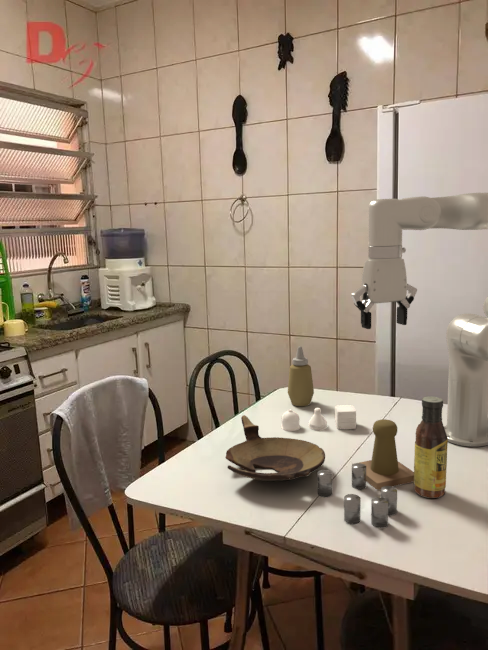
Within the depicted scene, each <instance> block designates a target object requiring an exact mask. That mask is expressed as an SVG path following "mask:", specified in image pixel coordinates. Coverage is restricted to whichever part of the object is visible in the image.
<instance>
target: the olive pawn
mask: <svg viewBox="0 0 488 650" xmlns="http://www.w3.org/2000/svg"><path fill="white" fill-rule="evenodd" d="M372 433H373V435H374V441H373V449H372V455H371V460H372V461H371V470H372V471H373V472H375V473H377V474H380V475H393V474H396V473H397V472H398V471H399V467H398V462H399V460H398V452H397V444H396V443H397V442H396V436H397V434H398V425H397V423H396V422H395V421H393V420H391V419H386V418H385V419H382V418H381V419H378V420H376V421H374V422H373V425H372Z"/></svg>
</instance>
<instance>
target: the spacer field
mask: <svg viewBox="0 0 488 650" xmlns="http://www.w3.org/2000/svg"><path fill="white" fill-rule="evenodd" d="M352 464H353V465H352ZM352 464H351V488H353V489H356V490H364V489H367V482H366V465H365V464H362V463H359V462H355V464H354V463H352ZM317 495H318V496H320V497H323V498H328V497H332V495H333V472H332V471H331V470H328V469H321V470H318V471H317ZM361 499H362V498H361V496H359V495H358V494H355V493H348V494H346V495H344V497H343V500H344V501H343V502H344V503H343V506H344V507H343V515H344V517H343V519H344V522H345V523H346V524H349V525H358V524H360V523H361V509H362V508H361V504H362V503H361ZM370 507H371V510H370V511H371V512H370V513H371V515H370V516H371V518H370V519H371V520H370V522H371V526H373V527H374V528H377V529H383V528H387V527H388V525H389V516H395V515H397V514H398V488H397V487H396V486H393V487H392V486H384V487H382V488H381V489H380V496H379V497H377V496H376V497H373V498H371V506H370Z"/></svg>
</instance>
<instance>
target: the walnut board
mask: <svg viewBox="0 0 488 650" xmlns="http://www.w3.org/2000/svg"><path fill="white" fill-rule="evenodd" d="M371 461H372V459H370V460H364V461H360V462H358V463H362V464H365V465H366V483H367V484H368V485H370V486H371V487H372V488H373V489H375V490H376V491H381V488H382V487H384V486H392V487H396V486H397V487H398V486H401V485H406V484H410V483H414V470H411V469H410V468H408V467H407V466H406V465H404V464H403V463H401V462H400V461H398V467H399V471H398V472H397V473H396V474H393V475H380V474H377V473H375V472H373V471H372V470H371ZM355 463H356V462H355ZM355 463H352V464H351V466H352V465H353V464H355Z"/></svg>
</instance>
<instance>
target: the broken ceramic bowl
mask: <svg viewBox="0 0 488 650" xmlns="http://www.w3.org/2000/svg"><path fill="white" fill-rule="evenodd" d="M241 424H242V427H243V432H244V436H245V440H244V441H243V442H240V443H237V444H235V445H233V446H231V447H230V448H228V449H227V450H226V453H225V454H226V455H225V460H227V461H229V462H230V463H232V464H233V465H236V466H237V467H239V468H237V467H234V466H232V465H227V470H230V471H231V472H233V473H235V474H237V475H241V476H242V477H245V478H248V479H252V480H255V481H256V480H257V481H263V482H277V481H279V482H280V481H291V480H295V479H298V478H300V477H303V478H304V477H309V476H310V475H311V473H313V472H315V471H317V470H318V469H319V468H321V467H322V466H323V465H324V463H325V461H326V453H325V451H324V449H323V448H322V447H320V446H319V445H317V443H314V442H310V441H307V440H303V439H298V438H290V437H276V436H275V437H261V436H260V435H259V430H260V428H259V425H257V424H254V423H253V422H252V421H251V420H250V418H249V417H248V416H247V415H245V414H244V415H243V414H242V416H241ZM256 468H258V469H261V470H260V472H256V471H257V470H256ZM242 469H243V470H242ZM262 469H270V470H274V471H276V472H268V473H267V472H262V471H263V470H262Z"/></svg>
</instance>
